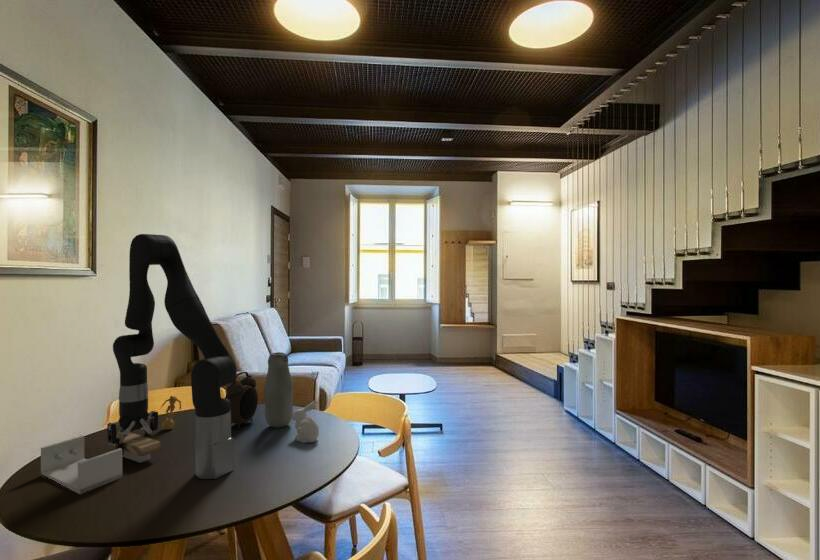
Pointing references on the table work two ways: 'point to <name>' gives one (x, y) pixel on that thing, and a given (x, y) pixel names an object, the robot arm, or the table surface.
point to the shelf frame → (79, 465)
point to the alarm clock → (242, 399)
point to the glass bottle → (278, 391)
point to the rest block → (136, 457)
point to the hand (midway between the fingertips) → (133, 450)
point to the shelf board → (139, 444)
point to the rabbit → (305, 424)
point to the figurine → (168, 422)
